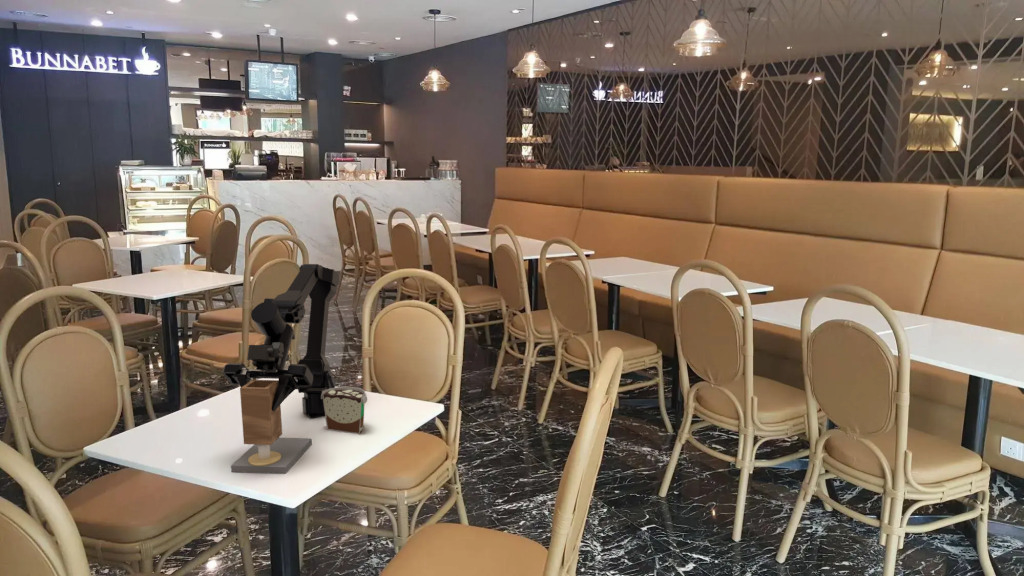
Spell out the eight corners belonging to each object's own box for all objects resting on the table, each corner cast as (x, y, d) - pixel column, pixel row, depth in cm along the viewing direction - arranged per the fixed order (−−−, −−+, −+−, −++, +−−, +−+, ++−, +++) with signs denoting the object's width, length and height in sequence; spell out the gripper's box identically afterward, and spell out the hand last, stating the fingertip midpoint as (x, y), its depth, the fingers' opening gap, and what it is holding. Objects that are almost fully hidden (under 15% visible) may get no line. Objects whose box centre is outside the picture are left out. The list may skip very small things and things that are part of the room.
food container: (377, 426, 176) (376, 388, 174) (365, 435, 170) (363, 396, 168) (336, 420, 180) (334, 383, 178) (322, 429, 174) (320, 391, 172)
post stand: (263, 443, 165) (261, 422, 164) (312, 444, 164) (310, 423, 163) (231, 472, 149) (229, 449, 148) (285, 473, 149) (284, 450, 148)
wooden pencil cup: (256, 433, 154) (252, 379, 152) (282, 434, 154) (278, 380, 152) (243, 444, 149) (239, 388, 146) (271, 444, 148) (267, 388, 146)
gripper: (222, 327, 152) (201, 392, 143) (305, 329, 150) (288, 394, 141) (241, 352, 161) (222, 414, 152) (320, 354, 159) (305, 417, 151)
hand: (258, 409), depth 149 cm, fingers closed on wooden pencil cup, 6 cm apart
